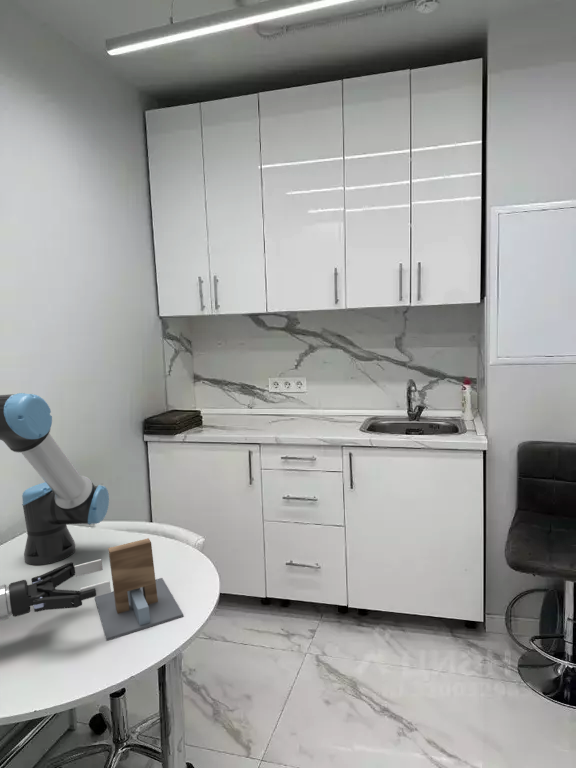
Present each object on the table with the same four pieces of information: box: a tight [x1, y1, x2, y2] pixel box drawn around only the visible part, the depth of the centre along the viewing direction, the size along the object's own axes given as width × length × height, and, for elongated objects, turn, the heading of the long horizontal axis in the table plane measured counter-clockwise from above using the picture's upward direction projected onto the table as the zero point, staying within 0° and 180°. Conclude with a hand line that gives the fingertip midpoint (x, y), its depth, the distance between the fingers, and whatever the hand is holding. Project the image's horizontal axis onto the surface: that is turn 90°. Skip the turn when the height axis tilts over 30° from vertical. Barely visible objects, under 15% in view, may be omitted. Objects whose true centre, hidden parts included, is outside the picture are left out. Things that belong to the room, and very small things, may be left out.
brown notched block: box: [107, 537, 158, 614], centre depth 137 cm, size 3×10×16 cm, turn 116°
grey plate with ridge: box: [94, 577, 184, 641], centre depth 138 cm, size 22×18×5 cm
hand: (106, 574), depth 134 cm, fingers open, 13 cm apart
